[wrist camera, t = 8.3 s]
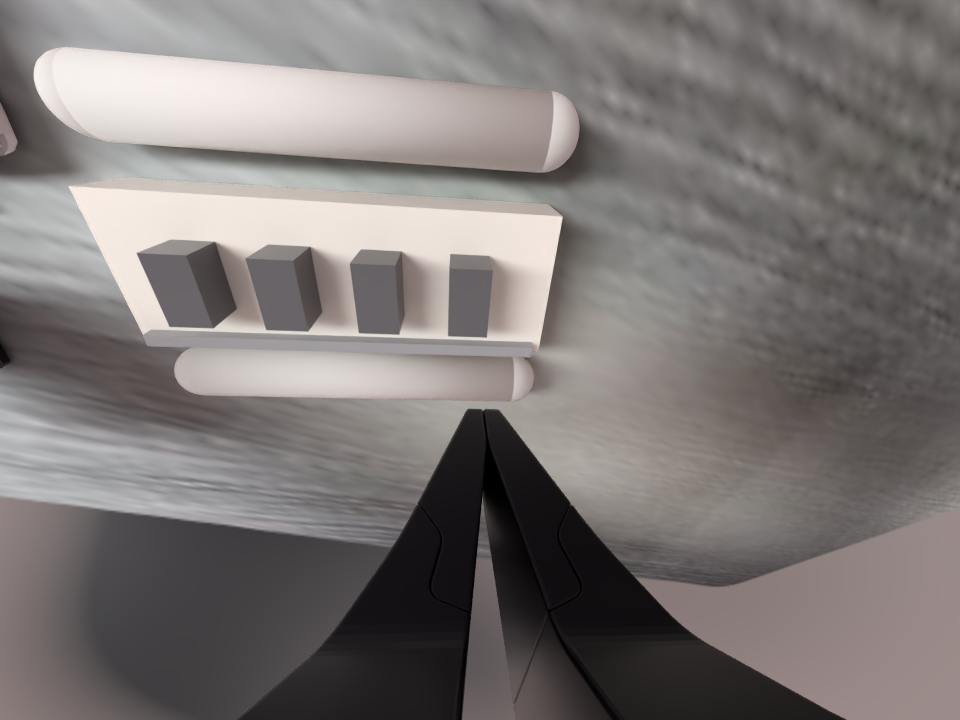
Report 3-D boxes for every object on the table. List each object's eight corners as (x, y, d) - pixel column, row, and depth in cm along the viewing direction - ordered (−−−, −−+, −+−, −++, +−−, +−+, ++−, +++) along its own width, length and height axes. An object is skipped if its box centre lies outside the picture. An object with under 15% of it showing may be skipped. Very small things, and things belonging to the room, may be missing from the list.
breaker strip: (183, 313, 21) (113, 361, 16) (126, 177, 17) (16, 193, 13) (529, 326, 22) (545, 372, 18) (548, 204, 18) (575, 227, 14)
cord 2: (103, 138, 16) (37, 140, 14) (66, 50, 14) (-16, 35, 12) (562, 171, 18) (579, 178, 15) (575, 96, 16) (597, 90, 14)
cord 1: (204, 375, 23) (173, 405, 21) (187, 334, 21) (151, 361, 19) (526, 382, 25) (534, 411, 22) (532, 345, 23) (541, 372, 21)
